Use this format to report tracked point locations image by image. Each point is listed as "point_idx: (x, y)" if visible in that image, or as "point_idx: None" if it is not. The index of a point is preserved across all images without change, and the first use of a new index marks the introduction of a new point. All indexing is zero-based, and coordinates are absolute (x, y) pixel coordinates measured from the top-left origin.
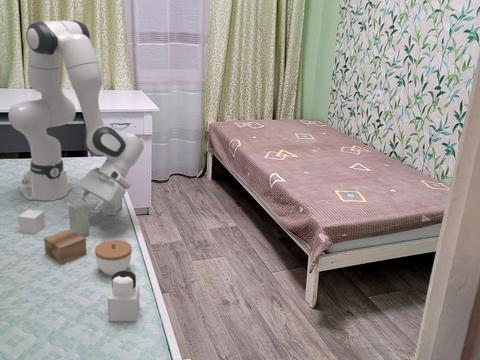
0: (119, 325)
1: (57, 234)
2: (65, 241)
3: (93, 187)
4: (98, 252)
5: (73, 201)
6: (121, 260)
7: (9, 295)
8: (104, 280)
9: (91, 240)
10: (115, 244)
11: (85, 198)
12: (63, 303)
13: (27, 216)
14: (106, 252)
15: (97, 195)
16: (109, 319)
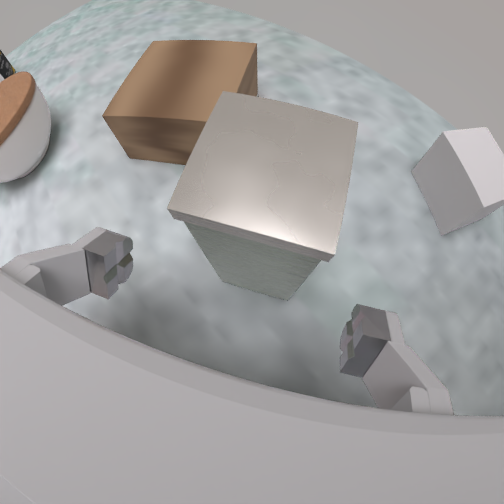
0: None
1: (233, 73)
2: (163, 63)
3: (239, 465)
4: (19, 74)
5: (335, 159)
6: None
7: (191, 4)
8: None
9: (177, 248)
10: None
11: (368, 385)
12: (87, 40)
13: (472, 136)
14: (1, 88)
15: (69, 310)
16: (13, 68)
